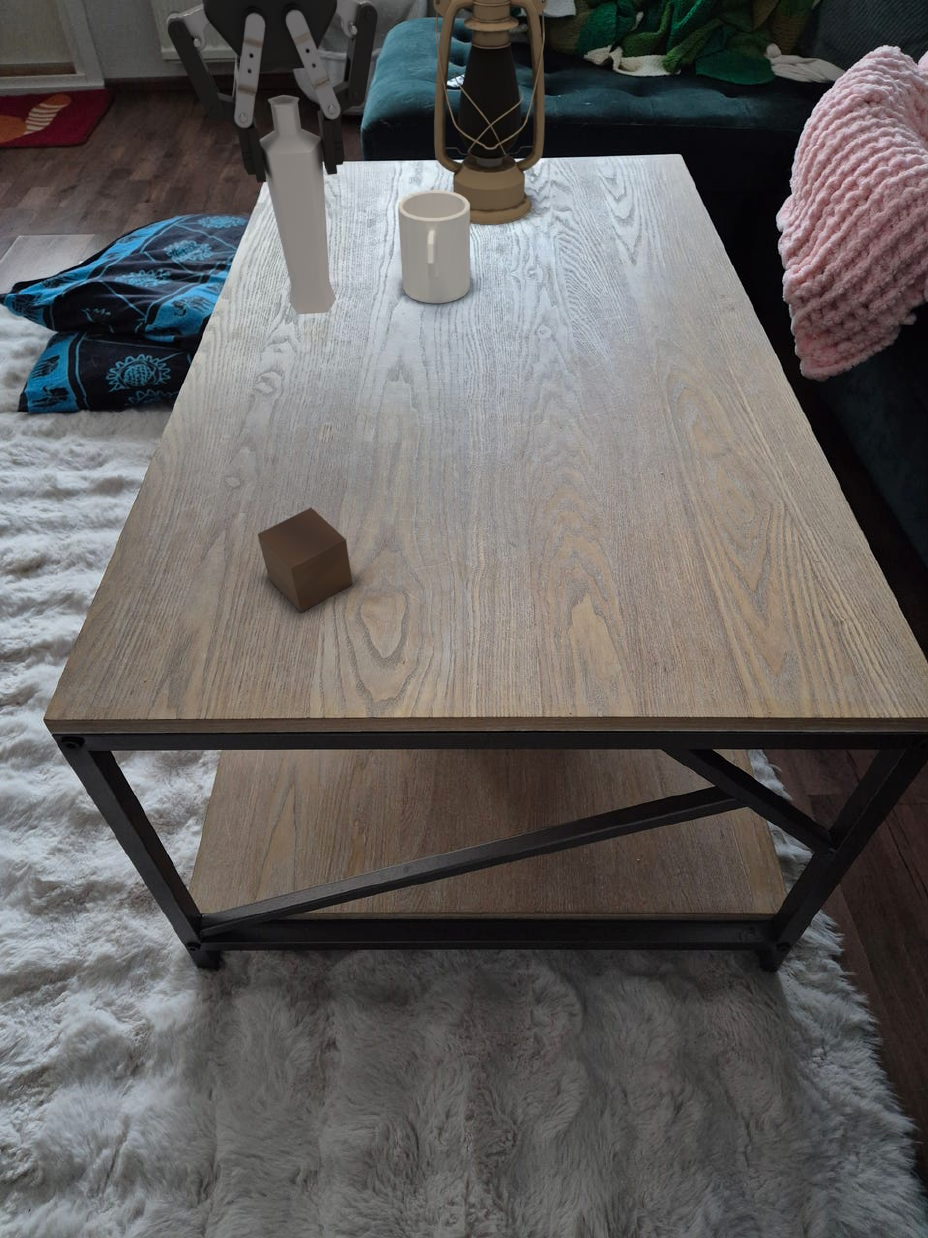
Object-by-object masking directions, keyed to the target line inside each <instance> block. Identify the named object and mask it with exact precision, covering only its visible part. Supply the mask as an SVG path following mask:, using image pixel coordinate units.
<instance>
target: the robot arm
mask: <svg viewBox="0 0 928 1238" xmlns="http://www.w3.org/2000/svg"><path fill="white" fill-rule="evenodd" d="M335 15H337V16H339V18H340V27H341V30H342V32H343V34H344V35H345V36H346V37H347V38H348V42H347V48H346V55H345V62H344V68H343V76H342V82H340V83H338V84H336V85H334V86H333V85H332V83H331V81H330V78H329V75H328V73H327V70H326V68H325V65H324V63H323V60H322V58H321V56H320V53H319V51H318V50H319V48H320V47H321V44H322V42H323V40H324V38H325V35H326V33H327V31H328V29H329V28H330V25H331V23H332V21H333V19H334V17H335ZM378 16H379V13H378V11H377V8H375V6H374V5H373V3H372V2H371V1H370V0H202V3H200V4H198V5H195V6H194V7H191V8H189V9H187V10H185V11H183V12H181V11H178V10H171V11H170V12H169V13H167V16H166V29H167V34H168V36H169V39H170V40H171V43H172V45H173V48H174V49H175V52H176V53H177V55H178V57H179V60H180V62H181V64H182V66H183V68H184V70H185V72H186V74H187V76H188V78H189V80H190V82H191V84H192V87H193V89H194V90H195V93H196V95H197V97H198V99H199V101H200V104H201V105H202V107H203V109H204V111H205V114H206V116H207V117H208V118H209V119H210V120H211V121H220V120H222V121H226V122H229V123H230V124H232V125H233V126H234V127H235V129H236V132H237V137H238V142H239V149H240V153H241V160H242V163H243V167H244V170H245V171H246V173H247V175H248V176H253V175H254V176H255V179H256V184H261V183H267V179H266V174H265V168H264V162H263V156H262V151H261V145H260V139H261V138H260V132H259V127H258V125H257V121H256V117H254V111H255V110H254V109H255V103H256V94H257V91H258V87H259V86H258V85H259V76H260V73H263V72H271V71H274V70H276V69H278V68H281V67H282V68H287V69H291V70H296V69H298V70H299V69H304V70H305V72H306V75H307V77H308V79H309V81H310V84H311V87H312V89H313V91H314V94H315V97H316V98H317V101H318V103H319V110H317V111H316V112H317V119H318V127H319V134H320V136H319V137H321V140H322V156H323V167H324V169H325V172H326V174H327V176H330V175H331V176H332V175H338V166H343V165H344V161H345V158H346V157H345V147H344V137H343V128H342V116H343V114H344V113H345V112H346V111H347V110H349V109H351V108H353V107H360V106H362V105H363V104H364V102H365V99H366V93H367V87H368V81H369V75H370V69H371V62H372V56H373V49H374V43H375V38H376V32H377V25H378V20H379V19H378V18H379V17H378ZM209 24H210V25H211V26H212V27H213V28H214V30H215V31H216V32H217V34H218V35H220V37H221V38H222V39H223V40H224V42H226V44H227V45H228V46H229V47H230V48H231V50H232V51H233V52H234V53H235V60H234V61H235V62H234V70H233V71H234V75H233V76H234V78H233V88H232V89H233V90H232V95H229V94H224V93H221V92H220V91H219V89H218V87H217V85H216V82H215V80H214V78H213V76H212V73H211V72H210V69H209V67H208V65H207V63H206V61H205V58H204V57H203V54H202V52H203V51H204V49H205V48H206V47H207V38H206V34H205V31H206V28H207V27H208V25H209Z"/></svg>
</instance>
